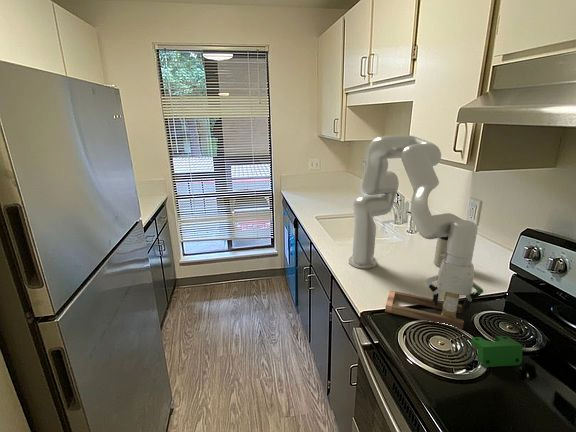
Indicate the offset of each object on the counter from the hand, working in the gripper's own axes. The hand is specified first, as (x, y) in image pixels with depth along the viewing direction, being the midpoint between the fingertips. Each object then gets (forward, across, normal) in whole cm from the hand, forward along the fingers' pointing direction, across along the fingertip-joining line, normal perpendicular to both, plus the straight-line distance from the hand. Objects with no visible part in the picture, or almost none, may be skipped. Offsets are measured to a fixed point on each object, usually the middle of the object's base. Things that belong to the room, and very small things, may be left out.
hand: (450, 306), depth 109 cm
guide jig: (+4, -7, 0) cm, 8 cm away
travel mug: (+4, -1, +43) cm, 43 cm away
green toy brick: (+5, +11, -16) cm, 20 cm away
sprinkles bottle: (+4, 0, 0) cm, 4 cm away
